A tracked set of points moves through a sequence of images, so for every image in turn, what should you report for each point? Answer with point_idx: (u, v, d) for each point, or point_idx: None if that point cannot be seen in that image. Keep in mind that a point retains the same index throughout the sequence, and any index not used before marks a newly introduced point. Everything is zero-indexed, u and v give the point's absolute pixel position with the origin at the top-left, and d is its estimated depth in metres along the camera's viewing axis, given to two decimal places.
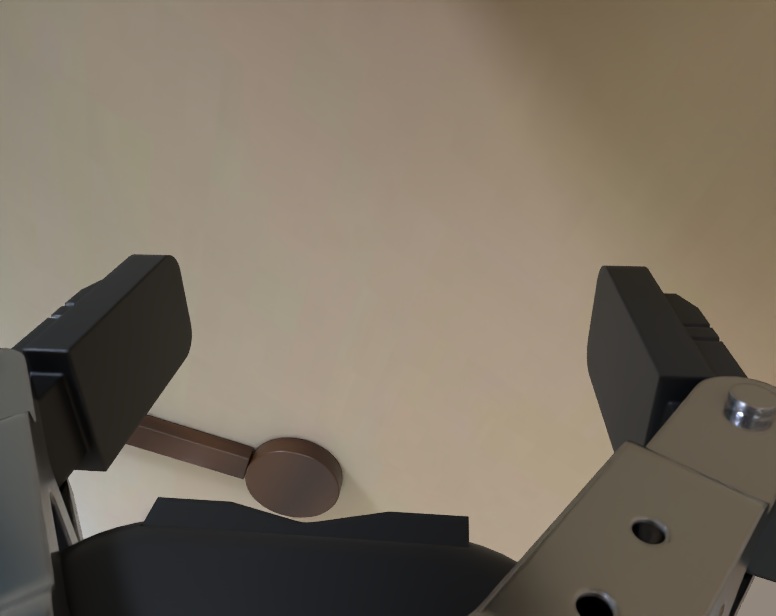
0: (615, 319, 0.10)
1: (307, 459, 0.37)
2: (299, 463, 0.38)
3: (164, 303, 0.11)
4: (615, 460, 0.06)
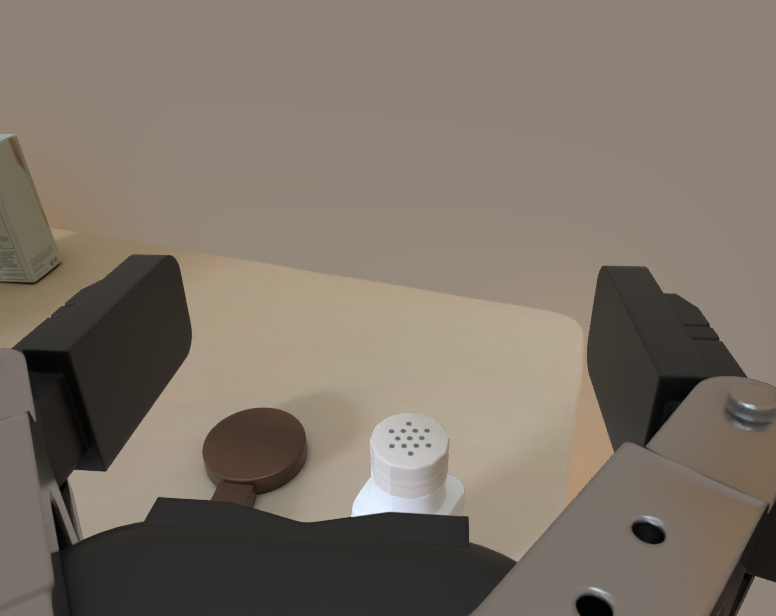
0: (615, 319, 0.10)
1: (213, 432, 0.37)
2: (219, 438, 0.37)
3: (164, 303, 0.11)
4: (613, 458, 0.06)
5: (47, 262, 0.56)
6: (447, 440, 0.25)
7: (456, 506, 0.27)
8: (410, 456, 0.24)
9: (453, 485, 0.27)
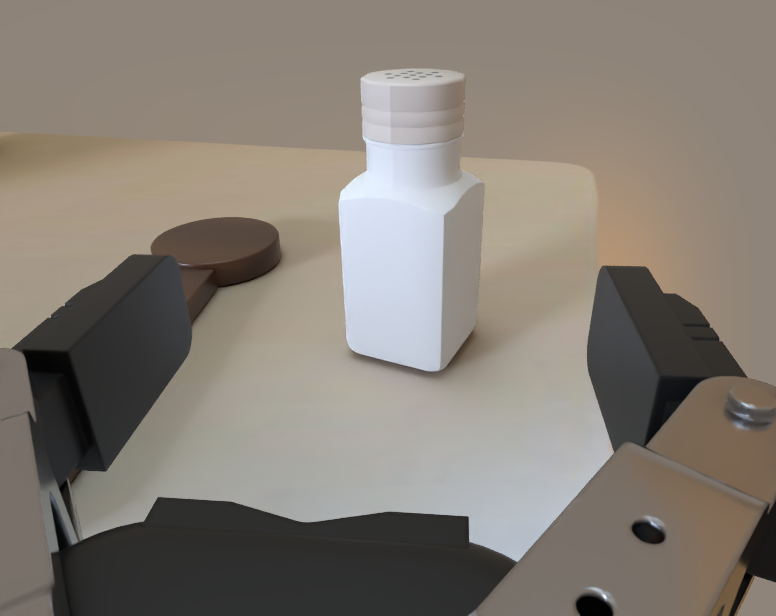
0: (614, 319, 0.10)
1: (165, 234, 0.30)
2: (172, 237, 0.30)
3: (164, 303, 0.11)
4: (613, 460, 0.06)
5: None
6: (463, 75, 0.19)
7: (476, 190, 0.20)
8: (415, 80, 0.18)
9: (470, 174, 0.21)
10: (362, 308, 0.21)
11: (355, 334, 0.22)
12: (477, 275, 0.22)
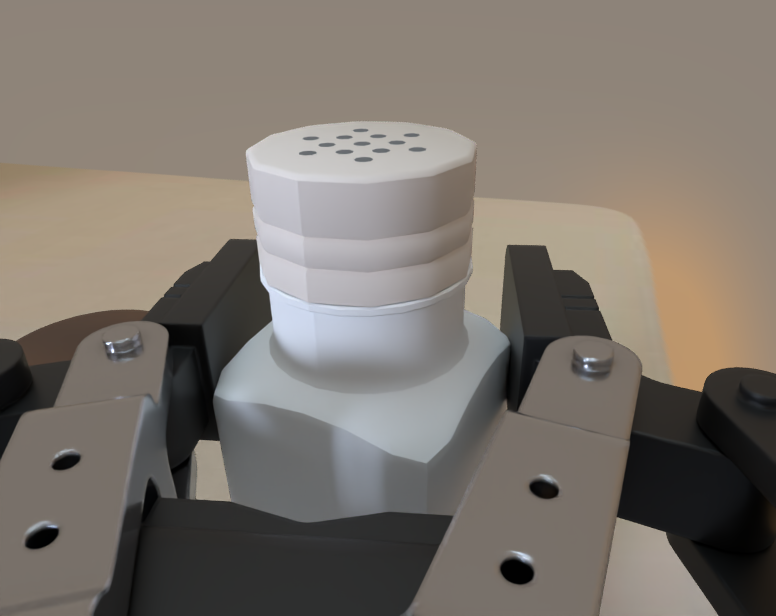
0: (510, 293, 0.11)
1: None
2: (24, 351, 0.20)
3: (261, 285, 0.12)
4: (497, 430, 0.06)
5: None
6: (472, 144, 0.09)
7: (496, 369, 0.10)
8: (361, 163, 0.08)
9: (483, 327, 0.11)
10: None
11: None
12: None
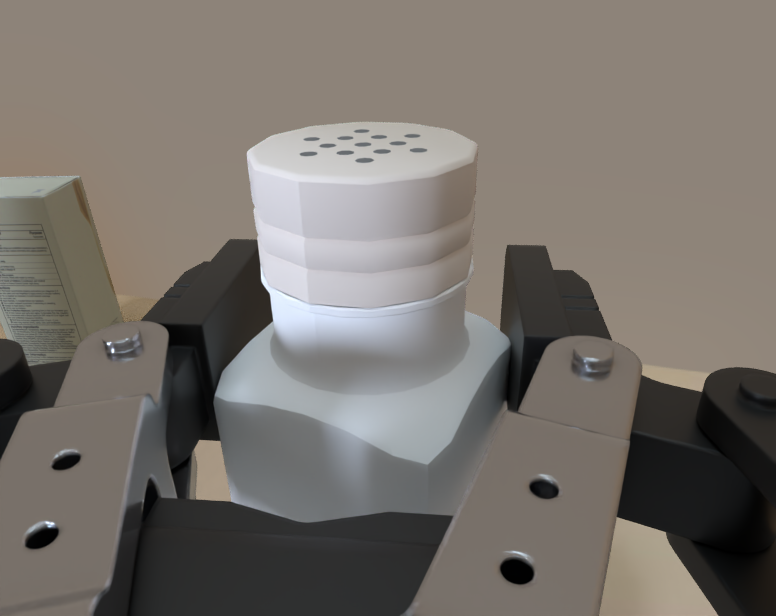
0: (510, 292, 0.11)
1: None
2: None
3: (261, 285, 0.12)
4: (498, 429, 0.06)
5: None
6: (473, 145, 0.09)
7: (497, 370, 0.10)
8: (363, 163, 0.08)
9: (484, 328, 0.11)
10: None
11: None
12: None
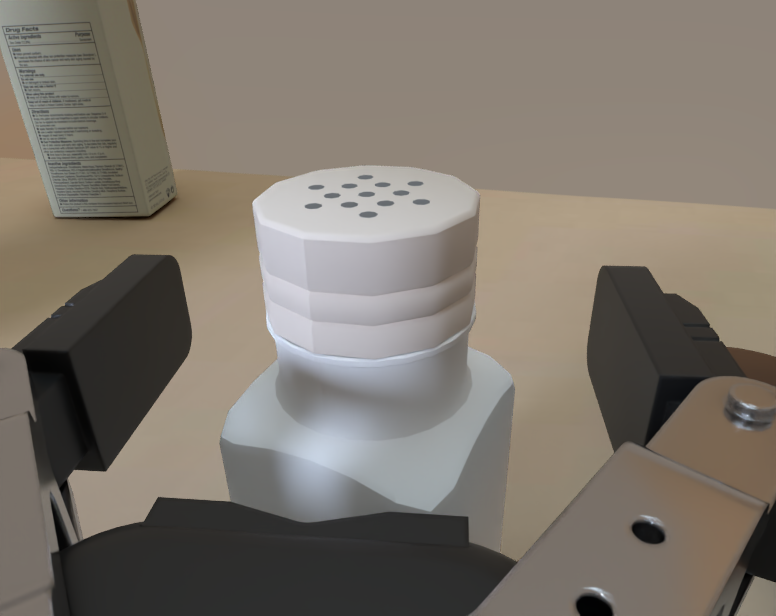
0: (615, 319, 0.10)
1: None
2: None
3: (164, 303, 0.11)
4: (615, 460, 0.06)
5: (163, 190, 0.37)
6: (475, 194, 0.09)
7: (499, 410, 0.10)
8: (366, 219, 0.08)
9: (486, 366, 0.11)
10: None
11: None
12: (497, 532, 0.12)
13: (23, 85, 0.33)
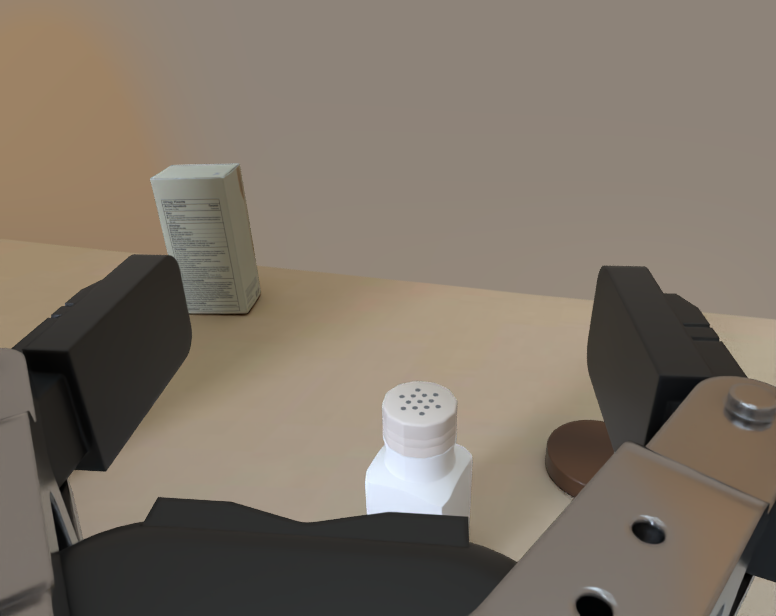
0: (615, 319, 0.10)
1: (551, 446, 0.36)
2: (562, 450, 0.36)
3: (164, 303, 0.11)
4: (613, 459, 0.06)
5: (254, 293, 0.55)
6: (455, 402, 0.26)
7: (466, 470, 0.28)
8: (421, 416, 0.25)
9: (461, 452, 0.28)
10: None
11: None
12: (467, 516, 0.29)
13: (170, 233, 0.51)
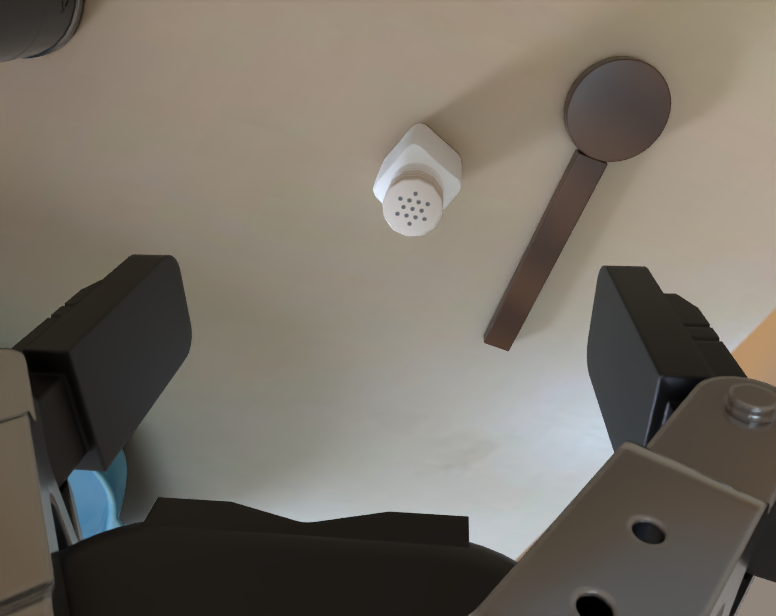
0: (615, 319, 0.10)
1: (579, 90, 0.37)
2: (584, 100, 0.37)
3: (164, 303, 0.11)
4: (614, 458, 0.06)
5: None
6: (440, 216, 0.33)
7: (448, 203, 0.36)
8: (408, 226, 0.33)
9: (451, 189, 0.35)
10: None
11: None
12: None
13: None
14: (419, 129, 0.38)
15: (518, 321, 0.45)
